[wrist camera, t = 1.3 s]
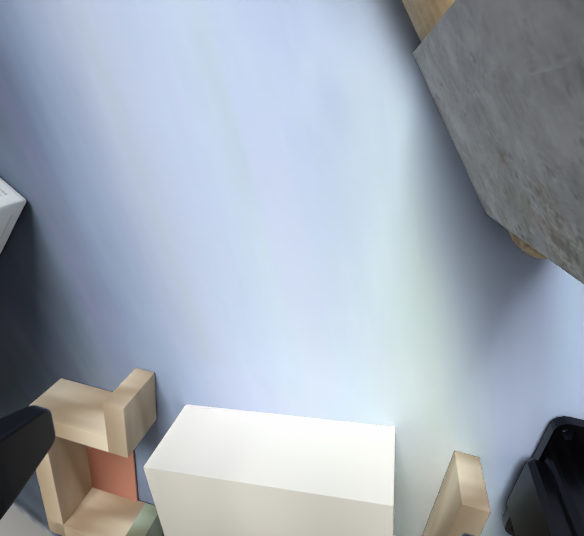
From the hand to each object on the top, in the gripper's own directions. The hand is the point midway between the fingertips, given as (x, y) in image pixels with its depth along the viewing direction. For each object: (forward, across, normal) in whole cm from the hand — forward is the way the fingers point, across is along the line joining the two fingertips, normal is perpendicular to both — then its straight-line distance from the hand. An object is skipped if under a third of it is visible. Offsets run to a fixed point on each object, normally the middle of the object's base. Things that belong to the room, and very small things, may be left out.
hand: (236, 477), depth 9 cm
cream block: (+9, 0, +9) cm, 13 cm away
